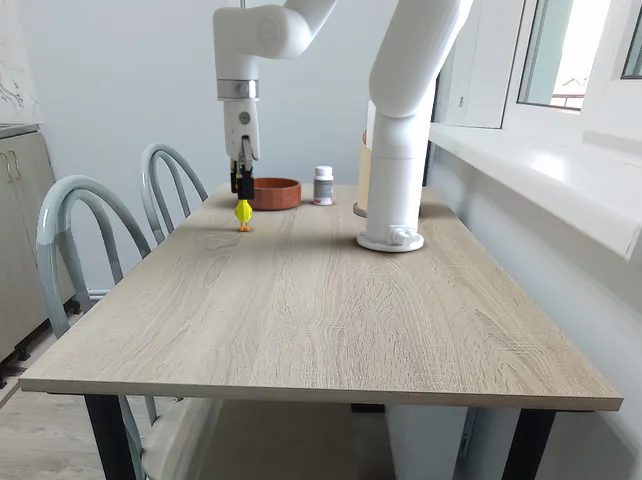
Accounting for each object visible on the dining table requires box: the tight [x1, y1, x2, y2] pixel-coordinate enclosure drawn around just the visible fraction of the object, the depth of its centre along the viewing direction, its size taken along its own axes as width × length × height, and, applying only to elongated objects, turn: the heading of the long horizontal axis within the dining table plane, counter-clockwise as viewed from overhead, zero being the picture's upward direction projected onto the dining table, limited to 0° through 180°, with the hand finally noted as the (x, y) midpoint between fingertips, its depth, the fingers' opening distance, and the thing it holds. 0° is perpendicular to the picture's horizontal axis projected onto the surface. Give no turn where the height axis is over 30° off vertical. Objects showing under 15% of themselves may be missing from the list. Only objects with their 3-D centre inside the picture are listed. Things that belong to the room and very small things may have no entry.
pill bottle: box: [312, 165, 334, 206], centre depth 128 cm, size 5×5×8 cm
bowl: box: [237, 176, 302, 211], centre depth 127 cm, size 15×15×5 cm
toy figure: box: [233, 167, 253, 232], centre depth 105 cm, size 7×4×12 cm, turn 7°
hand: (242, 195), depth 104 cm, fingers closed on toy figure, 5 cm apart
